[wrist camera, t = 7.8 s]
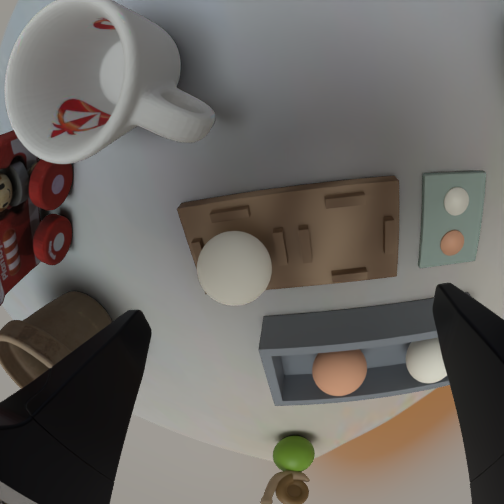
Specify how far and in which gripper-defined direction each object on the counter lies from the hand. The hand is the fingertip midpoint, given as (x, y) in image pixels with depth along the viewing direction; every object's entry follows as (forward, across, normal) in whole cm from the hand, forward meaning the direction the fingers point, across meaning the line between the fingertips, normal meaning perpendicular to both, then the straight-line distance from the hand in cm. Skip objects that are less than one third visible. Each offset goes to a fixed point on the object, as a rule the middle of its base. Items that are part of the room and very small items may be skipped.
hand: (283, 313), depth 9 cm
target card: (+12, -11, +4) cm, 17 cm away
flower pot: (+12, +22, +10) cm, 27 cm away
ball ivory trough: (+11, -10, +15) cm, 21 cm away
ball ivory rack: (+11, +4, +4) cm, 12 cm away
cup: (+12, +7, -8) cm, 16 cm away
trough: (+12, -5, +15) cm, 20 cm away
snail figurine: (+12, +4, +34) cm, 36 cm away
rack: (+12, 0, +4) cm, 13 cm away
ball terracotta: (+11, -2, +15) cm, 19 cm away
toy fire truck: (+12, +20, -3) cm, 24 cm away
